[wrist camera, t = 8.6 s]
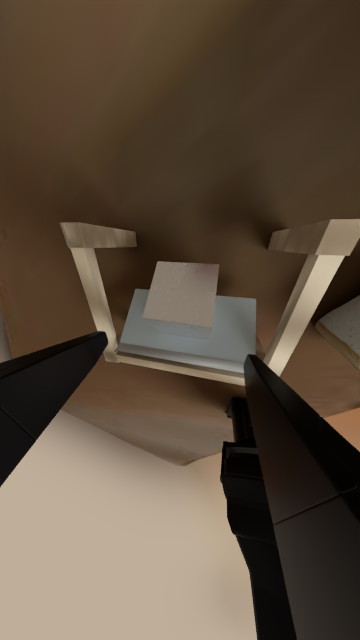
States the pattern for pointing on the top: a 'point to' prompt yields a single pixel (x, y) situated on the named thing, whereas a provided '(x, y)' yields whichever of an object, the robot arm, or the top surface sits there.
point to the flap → (217, 352)
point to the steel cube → (182, 299)
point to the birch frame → (319, 269)
